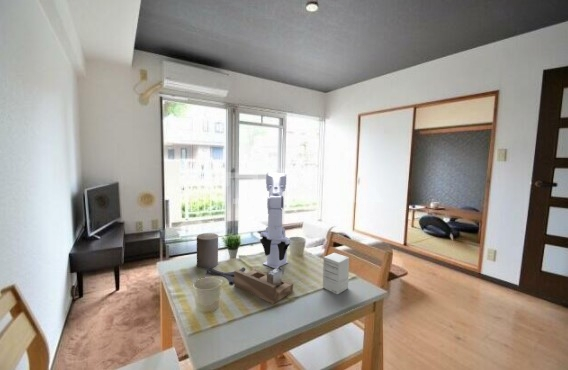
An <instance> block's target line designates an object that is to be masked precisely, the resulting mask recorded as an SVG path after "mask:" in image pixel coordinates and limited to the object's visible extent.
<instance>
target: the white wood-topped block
mask: <svg viewBox="0 0 568 370" xmlns="http://www.w3.org/2000/svg"><path fill="white" fill-rule="evenodd" d="M284 274H285V270H284V269H282V268H280V267H278V268H273V269H272V270H269V271H267V282H268V283H270V284H273V285H275V286H276V288H277V287H279V286H281V285H282V280H283V275H284Z"/></svg>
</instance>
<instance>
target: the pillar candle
mask: <svg viewBox="0 0 568 370" xmlns="http://www.w3.org/2000/svg"><path fill="white" fill-rule="evenodd" d="M218 264H219V235H218V234H216V233H213V232H205V233H200V234H197V236H196V267H197V268H199V269H205V270H206V269H207V270H208V269H209V268H211V269H213V268H215V267H218Z"/></svg>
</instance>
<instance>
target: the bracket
mask: <svg viewBox="0 0 568 370" xmlns="http://www.w3.org/2000/svg"><path fill="white" fill-rule="evenodd" d="M238 270H239V271H242V272H244V273H245V271H246V268H245V267H244V266H243V267H241V268H240V269H238ZM206 274H207V275H215V276H216V275H217V276H222V277H224V278H226V279H227V281H228V284H229V285H231V284H232V285H234V271H229V272H224V271H219V270H216V269H213V268H207V270H206Z"/></svg>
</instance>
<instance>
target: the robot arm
mask: <svg viewBox="0 0 568 370" xmlns="http://www.w3.org/2000/svg"><path fill="white" fill-rule="evenodd" d="M265 184H266V191H268V197H267V200H266V201H267V204H266V205H267V206H266V207H267V215H268V218H267V227H266V228H265V229H264V231H261V232H260V239H259V241H260V243H261V246H262V248H263V252H264V256H266V261H265V262H263V263H262V265H265V266H267V267H270V268H273V269H276V268H280V267H281V266H284V265H286V264H288V263H289V261H287V257H288V256H287V255H288V254H287V250H288V248H289V246H290V245H291V238H289V237H288V236H286V228H285V227H283V210H284V205H285V203H284V202H285V201H284V200H285V198H284V194H283V193H284V192H285V191H286V187H287V186H286V185H287V173H286V172H284V173H283V172H266V175H265Z"/></svg>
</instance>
